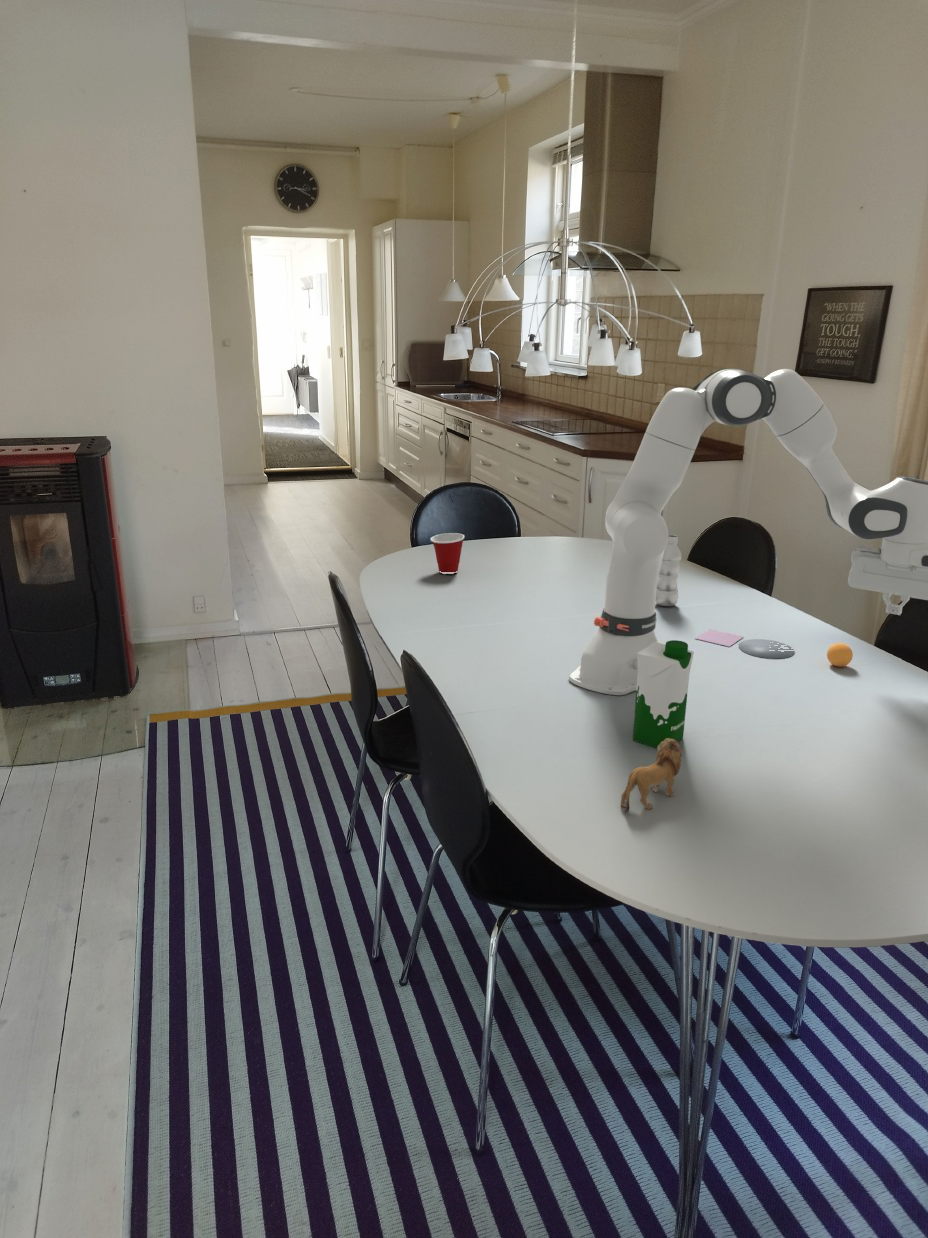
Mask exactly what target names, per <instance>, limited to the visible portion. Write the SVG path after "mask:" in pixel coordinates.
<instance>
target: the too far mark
mask: <svg viewBox="0 0 928 1238" xmlns="http://www.w3.org/2000/svg"><path fill="white" fill-rule="evenodd" d="M743 637H744V636H742V635H738V634H735V633H734V634H733V633H728V632H724V631H719V630H716V629H712V628H710V629H708V630H707V631H704V632H703V633H702V634H700V635H698V636H697V637H695V638H694V640H697V641H698V640H699V641H701V642H706V643H710V644H714V645H718V646H722V645H724V647H728V648H730V647H732V646H733V645H735V644H736V643H738V642H739V641H741V640H742V639H743ZM737 641H738V642H737ZM731 645H732V646H731Z"/></svg>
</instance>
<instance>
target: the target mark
mask: <svg viewBox="0 0 928 1238" xmlns="http://www.w3.org/2000/svg"><path fill="white" fill-rule="evenodd" d="M770 642H771V643H770ZM772 642H773V643H772ZM780 642H781V641H776V640H771V639H765V638H764V639H762V638H757V639H756V638H752V639H746V640H742V641H740V642H739V643H738V646H739V647H738V648H739V650H740V651H741V652H743V653H745V654H746V655H747V654H748V655H749V656H753V657H755V658H756V657H757V658H760V659H768V660H769V658H773V660H775V659H774V658H782V659H788V658H790V656H791V657H792V656H794V655H795V650H794V648H793V647H792V646H790V645H788V644H786V643H784V642H781V643H780ZM777 643H779V644H777ZM769 645H770V646H769ZM774 645H778V646H774ZM781 645H787V646H784V647H788V648H789V649H783V648H780V647H781ZM769 647H771V648H769ZM778 648H780V649H778ZM791 648H793V649H791ZM769 650H775V651H769ZM778 650H794V651H784V652H781V651H778ZM793 654H794V655H793ZM787 657H788V658H787Z"/></svg>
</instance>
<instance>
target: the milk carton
mask: <svg viewBox="0 0 928 1238" xmlns="http://www.w3.org/2000/svg"><path fill="white" fill-rule="evenodd" d="M694 653H695V652H694V650H693V651H692V650H690V649H689V644H688V643H687V642H686V641H682V640H676V639H675V640H667V641H666V642H665V644H663V643H660V642H659V643H654V644H652V645H650V646H649V647H647V648H645V649H643V650H642V651H640V652H638V653H637V662H638V674H637V688H636V690H635V703H634V717H633V728H632V729H633V730H632V731H633V732H632V741H634V742H637V743H640V744H643V745H646V746H649V747H652V748H655V749H657V748H658V747H657V746H658V745H659V744H660V743H661V742H662V741H664V740H665V739H666V738H670V739H675V740H676V741H677V743H678V744H679V742H680V741H682V740H683V739H684V732H685V722H686V711H687V703H688V701H687V700H688V690H689V680H690V672H691V668H692V663H693V658H694Z"/></svg>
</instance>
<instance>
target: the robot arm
mask: <svg viewBox="0 0 928 1238" xmlns="http://www.w3.org/2000/svg"><path fill="white" fill-rule="evenodd" d="M759 420H762V421H763V422H765V424H767V425H768V426H769V429H770V430H771V431H772V433H773V435H774V436H775V437H776V438H777V440H778V441H779V443H780V444H781V445H782V446H783V447H784V448H785V450H787V452H789V454H790V455H791V456H793V457H794V458H795V459H797V461H799V462H800V463H801V464H803V466H805V468H806V469H807V471H808V472H809V474H810V475H811V477H812V479H813V480H814V481H815V483H816V484H817V486H818V487H819V489H820V491H821V492H822V494H823V497H824V499H825V507H826V513H827V516H828V518H829V520H830V522H832V523H833V524H834V526H837V527H839V528H841V529H843V530H845V531H847V532H848V533H850V534H852V535H853V536H855V537H858V538H860V539H864V540H875V539H877V540H878V539H882V540H881V541H882V542H881V546H880V547H881V548H874V547H867V546H859V547H857V548H855V549H853V550H852V552H851V555H850V556H851V557H850V562H851V568H850V570H849V574H848V579H847V584H848V586H849V587H851V588H852V589H853V588H854V589H859V590H864V591H866V590H867V591H872V592H877V593H882V600H883V602H884V604H885V613H886V614H893V615H898V616H901V614H902V612H903V607H904V606H905V605H906V604H907V603H908V602H909V601H910V598H912V599H916V600H917V599H918V600H923V601H924V600H925V601H928V480H924V479H921V478H918V477H913V476H908V475H899V476H897V477H896V478H894V479H893V480H892V481H891V482H889V483H887V484H885V485H883V486H880V487H878V488H875V489H872V490H870V489H869V488H867V487H865V486H863V485H862V484H860V483H858V482H856V481H854V480H853V479H852V478H851V476H850V475H849V474H848V472H847V471H846V469H845V468H844V466H843V465H842V463H841V461H840V460H839V458H838V457H837V455H836V453H835V451H834V448H833V445H834V443H835V441H836V439H837V435H838V427H837V424H836V422H835V420H834V417H833V415H832V413H831V412H830V410H829V409H828V407H827V405H826V404H825V403H824V401H823V400H822V399H821V397H820V396H819V395H818V393H817V392H816V391H815V390H814V389H813V388H812V386H810V384H809V382H807V381H806V380H805V379H804V378H803V377H802V376H801V375H800V374H798V372H797V371H795V370H793V369H790V368H781V369H778V370H775V371H773V372H771V373H769V374H768V375H766V376H765V377H762V376H759V375H758V374H754V373H752V372H748V371H745V370H742V369H741V368H720V369H718V370H717V369H716V370H715V371H713V372H711V373H709V374H708V375H707V376H706V377H704V378H703V379H702V380H701V381H700V382H698V383H697V384H696V385H695V386H694V387H693V388H689V387H674V388H672V389H670V390H669V391H667V392H666V393H665V394H664V396H663V397H662V399H661V401H660V403H659V404H658V406H657V407H656V410H655V411H654V413H653V415H652V417H651V419H650V421H649V423H648V425H647V427H646V430H645V432H644V435H643V437H642V440H641V443H640V445H639V448H638V450H637V452H636V454H635V457H634V460H633V462H632V465H631V467H630V469H629V471H628V472H627V474H626V476H625V478H624V479H623V481H622V483H621V485H620V486H619V488H618V490H617V492H616V494H615V496H614V498H613V499H612V501H611V503H610V504H609V505H608V506H607V509H606V512H605V516H604V525H605V530H606V531H607V533H608V535H609V536H610V538H611V540H612V552H611V553H612V554H611V560H610V565H609V568H608V572H607V574H606V583H605V596H604V597H605V599H604V608H603V609H602V612H601V615H600V616H595V618H594V620H593V625H594V626H595V627H599V628H598V630H597V631H596V632H595V634H594V635H593V637H592V638H591V640H590V641H589V643H588V645H587V646H586V648H585V650H583V653H582V655H581V657H580V665H579V666H578V667H577V668H575V670H574V671H572V672H571V674H569V676H568V681H569V682H571V683H572V684H574V685H575V686H578V687H581V688H582V689H586V690H590V691H593V692H595V693H600V694H606V695H611V696H612V695H613V696H624V695H627V694H630V693H632V692H636V688H637V674H638V662H637V653H638V652H640V651H642V650H643V649H645V648H647V647H649V646H650V645H652V644H654V643H660V642H659V640H658V639H657V636H656V634H655V630H656V624H657V613H656V611H655V610H656V609H655V608H656V602H655V599H656V587H657V579H658V574H659V570H660V566H661V562H662V558H663V554H664V550H665V548H666V546H667V544H668V539H669V535H670V534H669V529H668V525H667V522H666V520H665V518H664V517H663V516H662V512H663V510H664V508H665V507H666V505H667V503H668V502H669V500H670V499H671V497H672V495H673V494H674V493H675V492H676V490H677V489H679V488H680V486H681V484H682V483H683V480H684V478H685V476H686V473H687V471H688V468H689V466H690V463H691V462H692V458H693V457H694V454H695V451H696V449H697V447H698V444H699V442H700V439H701V436H702V435H703V433H704V431H705V430H706V429H707V428H708V427H709V426H710V425H712V424H713V423H715V422H716V423H718V424H721V425H725V426H730V427H743V426H747V425H750V424H752V423H754V422H757V421H759ZM892 595H895V596H900V601H902V602H901V603H900V604H894V603H892V601H891V597H892Z"/></svg>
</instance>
